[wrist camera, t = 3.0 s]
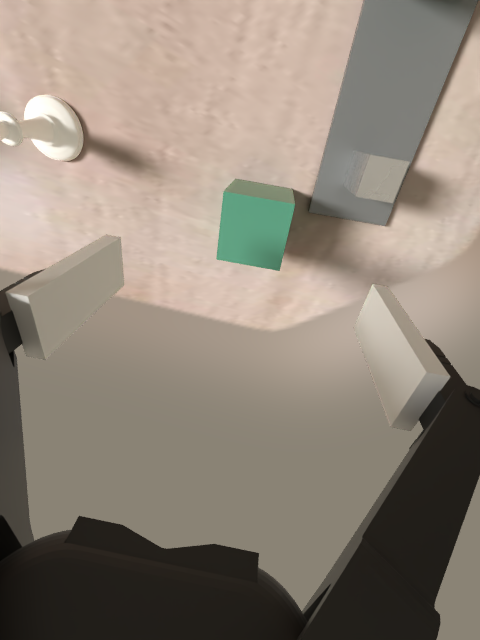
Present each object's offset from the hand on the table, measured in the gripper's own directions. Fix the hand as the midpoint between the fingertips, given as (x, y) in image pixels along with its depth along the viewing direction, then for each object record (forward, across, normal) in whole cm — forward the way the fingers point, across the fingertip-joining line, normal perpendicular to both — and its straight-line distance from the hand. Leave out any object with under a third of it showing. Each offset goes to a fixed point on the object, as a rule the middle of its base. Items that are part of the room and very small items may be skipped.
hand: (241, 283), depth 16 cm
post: (+15, +8, +5) cm, 18 cm away
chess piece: (+15, -19, +4) cm, 25 cm away
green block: (+15, 0, 0) cm, 15 cm away
